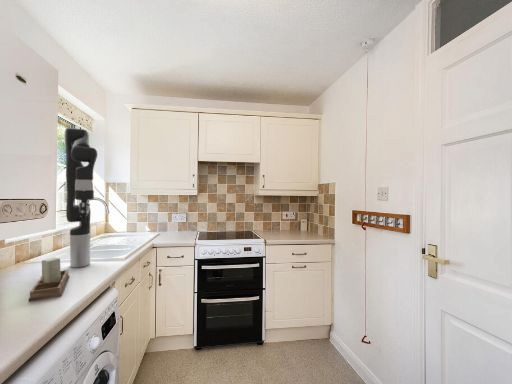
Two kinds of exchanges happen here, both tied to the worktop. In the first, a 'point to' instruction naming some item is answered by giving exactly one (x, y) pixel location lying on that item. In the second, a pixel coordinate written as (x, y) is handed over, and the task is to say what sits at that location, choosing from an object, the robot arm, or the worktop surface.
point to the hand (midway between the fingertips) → (84, 223)
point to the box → (51, 270)
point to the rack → (49, 288)
